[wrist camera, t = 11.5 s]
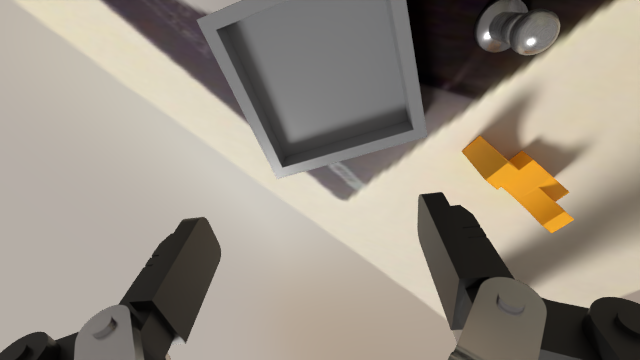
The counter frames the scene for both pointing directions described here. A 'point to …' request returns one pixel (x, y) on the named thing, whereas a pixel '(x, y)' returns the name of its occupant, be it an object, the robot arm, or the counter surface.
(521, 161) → the pipe clamp
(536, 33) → the door knob
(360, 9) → the parts bin
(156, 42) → the counter surface
